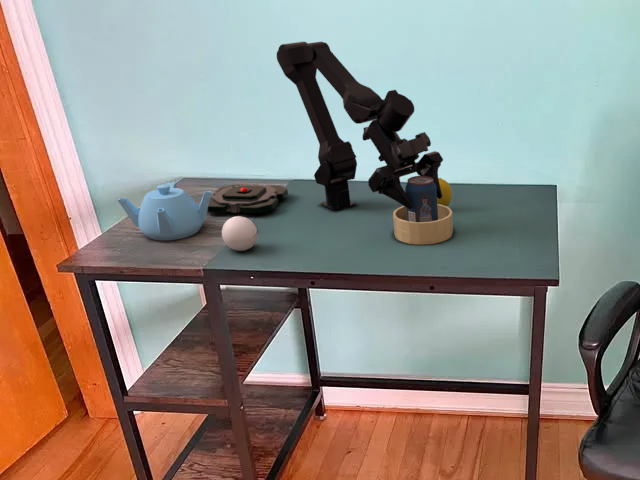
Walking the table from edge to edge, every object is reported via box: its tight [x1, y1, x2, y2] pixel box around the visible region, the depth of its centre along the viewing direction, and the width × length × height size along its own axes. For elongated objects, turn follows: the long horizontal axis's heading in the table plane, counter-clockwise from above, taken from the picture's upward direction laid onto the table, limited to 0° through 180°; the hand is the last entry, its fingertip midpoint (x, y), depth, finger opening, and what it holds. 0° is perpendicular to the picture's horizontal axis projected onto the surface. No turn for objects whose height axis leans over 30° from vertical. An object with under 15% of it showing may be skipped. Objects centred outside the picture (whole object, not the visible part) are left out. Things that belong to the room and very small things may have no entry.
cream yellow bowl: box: [392, 204, 454, 246], centre depth 162 cm, size 13×13×5 cm
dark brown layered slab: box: [207, 183, 289, 214], centre depth 180 cm, size 18×18×5 cm
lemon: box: [437, 177, 453, 207], centre depth 175 cm, size 6×6×8 cm
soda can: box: [404, 175, 438, 222], centre depth 160 cm, size 7×7×12 cm
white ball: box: [221, 215, 259, 252], centre depth 155 cm, size 10×7×7 cm
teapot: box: [117, 182, 212, 241], centre depth 162 cm, size 15×15×11 cm
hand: (426, 203), depth 158 cm, fingers open, 9 cm apart
